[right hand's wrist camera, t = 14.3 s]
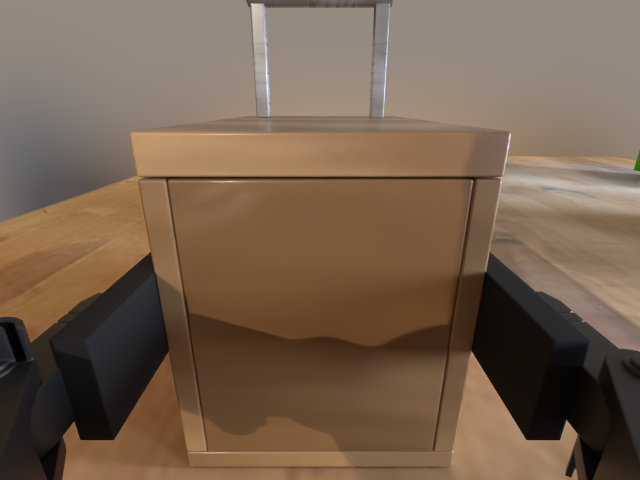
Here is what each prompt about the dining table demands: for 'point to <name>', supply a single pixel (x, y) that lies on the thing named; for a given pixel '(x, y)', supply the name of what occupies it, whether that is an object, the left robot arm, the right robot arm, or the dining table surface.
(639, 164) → the toy car
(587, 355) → the right robot arm
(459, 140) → the lid
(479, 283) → the chest
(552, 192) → the dining table surface
